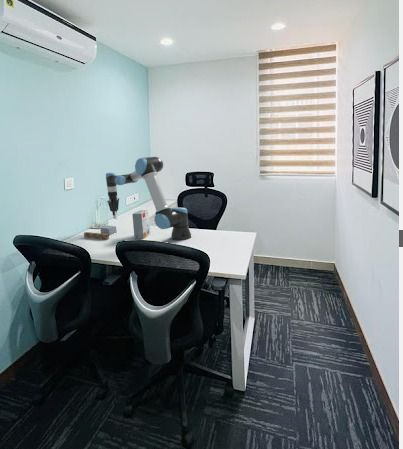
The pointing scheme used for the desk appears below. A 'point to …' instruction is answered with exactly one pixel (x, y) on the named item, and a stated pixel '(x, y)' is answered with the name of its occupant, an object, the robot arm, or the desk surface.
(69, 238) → the desk surface
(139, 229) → the hard drive box
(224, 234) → the desk surface
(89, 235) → the walnut stop board
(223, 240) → the desk surface
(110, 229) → the slate block
